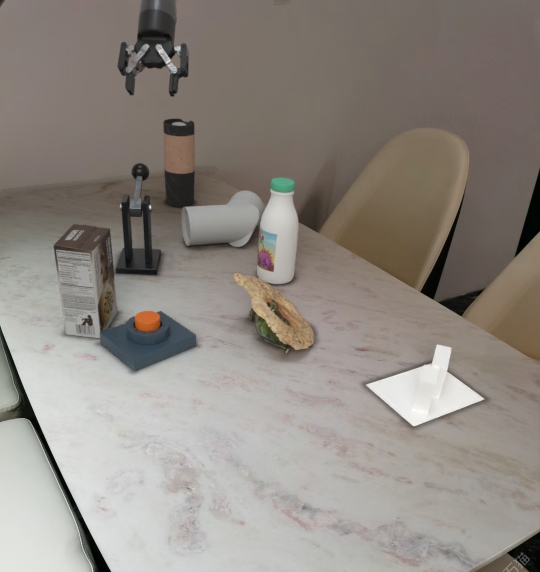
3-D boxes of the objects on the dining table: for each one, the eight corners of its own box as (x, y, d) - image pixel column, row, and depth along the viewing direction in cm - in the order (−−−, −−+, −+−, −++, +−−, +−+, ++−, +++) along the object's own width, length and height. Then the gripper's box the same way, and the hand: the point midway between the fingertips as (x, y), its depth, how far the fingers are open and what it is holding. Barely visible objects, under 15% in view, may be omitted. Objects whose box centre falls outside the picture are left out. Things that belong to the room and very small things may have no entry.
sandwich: (316, 366, 108) (340, 337, 104) (262, 379, 97) (285, 347, 93) (261, 297, 115) (281, 267, 110) (205, 301, 104) (225, 269, 100)
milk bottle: (289, 268, 127) (298, 174, 116) (297, 285, 121) (307, 187, 109) (253, 268, 125) (259, 173, 114) (259, 285, 119) (266, 186, 108)
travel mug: (170, 208, 151) (168, 126, 140) (161, 198, 157) (159, 118, 146) (198, 206, 154) (199, 125, 143) (189, 196, 160) (189, 117, 148)
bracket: (123, 252, 127) (118, 189, 120) (160, 254, 128) (158, 191, 120) (116, 273, 119) (110, 206, 111) (156, 274, 120) (154, 208, 112)
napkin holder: (433, 361, 100) (441, 332, 97) (485, 398, 93) (495, 368, 89) (364, 385, 93) (370, 354, 90) (414, 427, 86) (423, 395, 82)
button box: (134, 371, 92) (133, 349, 90) (100, 343, 98) (98, 322, 96) (196, 345, 99) (196, 325, 97) (161, 321, 105) (160, 301, 103)
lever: (133, 172, 124) (131, 158, 121) (150, 173, 125) (149, 159, 122) (127, 218, 118) (125, 205, 115) (145, 219, 118) (144, 206, 115)
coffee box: (83, 308, 107) (73, 222, 98) (118, 312, 106) (111, 226, 97) (64, 335, 99) (51, 244, 90) (102, 339, 99) (92, 248, 90)
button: (144, 335, 94) (143, 325, 93) (130, 324, 96) (129, 315, 96) (165, 327, 97) (165, 318, 96) (151, 317, 99) (150, 308, 98)
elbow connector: (255, 255, 128) (271, 222, 144) (247, 207, 123) (264, 179, 139) (178, 260, 132) (202, 228, 148) (166, 214, 127) (193, 186, 143)
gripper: (118, 6, 120) (111, 83, 119) (187, 7, 119) (181, 84, 118) (129, 30, 128) (122, 102, 126) (194, 32, 127) (189, 104, 125)
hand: (151, 94), depth 122 cm, fingers open, 8 cm apart
